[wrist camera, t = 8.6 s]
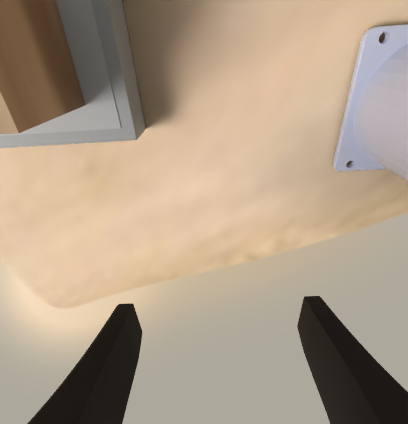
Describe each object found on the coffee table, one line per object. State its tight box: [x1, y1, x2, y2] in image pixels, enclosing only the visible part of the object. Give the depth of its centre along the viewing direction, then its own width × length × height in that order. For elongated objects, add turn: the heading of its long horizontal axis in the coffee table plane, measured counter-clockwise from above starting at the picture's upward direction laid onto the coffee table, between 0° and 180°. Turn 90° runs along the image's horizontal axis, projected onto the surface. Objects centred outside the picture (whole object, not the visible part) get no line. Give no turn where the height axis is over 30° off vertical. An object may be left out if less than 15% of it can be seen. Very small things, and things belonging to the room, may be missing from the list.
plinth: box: [0, 0, 146, 148], centre depth 13 cm, size 9×9×2 cm
